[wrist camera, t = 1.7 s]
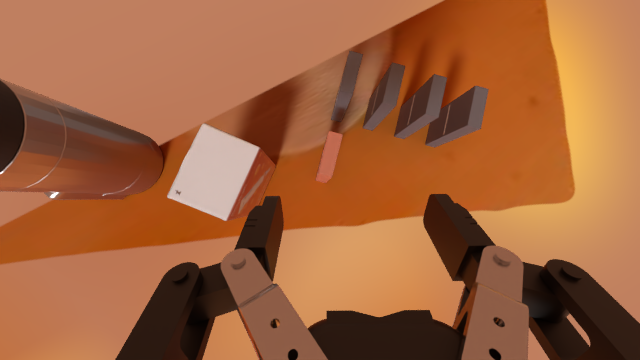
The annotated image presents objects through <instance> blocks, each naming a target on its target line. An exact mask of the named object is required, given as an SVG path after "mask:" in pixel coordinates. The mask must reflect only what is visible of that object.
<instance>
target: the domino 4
mask: <svg viewBox="0 0 640 360" xmlns="http://www.w3.org/2000/svg"><path fill="white" fill-rule="evenodd" d="M446 81H447V78H446V77H443V76H439V75H436V74H434V75H433V76H432V77H431V78H430V79H429V80H428V81H427V82H426V83H425V84H424V85H423V86H422V87H421V88H420V89H419V90H418V91H417V92H416V93H415V94H414V95H413V96H412V97H411V98H410V99H409V100H408V101H407V102H406V103H404V104H403V105H402V106H401V109H400V113H399V118H398V122H397V126H396V130H395V135H394V137H398V138H402V139H405V138H406V137H408V136H409V135H411V134H413V133H414V132H416V131H417V130H419V129H421V128H422V127H424V126H426V125H427V124H429V123H430V122H432V121H434V120H435V119H437V118H438V117H439V113H440V109H441V104H442V99H443V95H444V90H445V85H446Z"/></svg>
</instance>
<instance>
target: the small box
mask: <svg viewBox="0 0 640 360" xmlns="http://www.w3.org/2000/svg"><path fill="white" fill-rule="evenodd" d="M275 168H276V165H275V164H274V163H273V162H272V160H271V159H270V158H269V157H268V156H267V155H266V154H265V153H264V152H263V150H262V149H261V148H260V147H258V146H256V145H254V144H251V143H249V142H247V141H244V140H242V139H240V138H238V137H235V136H233V135H231V134H229V133H226V132H224V131H222V130H220V129H217V128H215V127H213V126H211V125H208V124H206V123H203V124H202V126H201V128H200V130H199V132H198V134H197V135H196V137H195V139H194V141H193V143H192V145H191V147H190V149H189V151H188V153H187V155H186V156H185V158H184V160H183V162H182V165H181V167H180V170H179V172H178V174H177V177H176V179H175V181H174V183H173V185H172V187H171V189H170V191H169V194H168V196H167V197H168V198H170V199H173V200H176V201H178V202H181V203H183V204H186V205H188V206H191V207H193V208H196V209H199V210H201V211H204V212H206V213H208V214H211V215H213V216H216V217H218V218H221V219H223V220H225V221H228V220H232V219H236V218H240V217H244V216H248V215H249V212H250V211H251V210H252V209H253V208H254V207H255V206H259V204H260V201H261V199H262V197H263V194H264V192H265V190H266V187H267V185H268V183H269V181H270V179H271V176H272V174H273V172H274V170H275Z"/></svg>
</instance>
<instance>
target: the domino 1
mask: <svg viewBox="0 0 640 360" xmlns="http://www.w3.org/2000/svg"><path fill="white" fill-rule="evenodd" d="M342 136H343V134H339V133H335V132H331V131H329V133H328V136H327V140H326V143H325V146H324V149H323V153H322V157H321V161H320V165H319V168H318V172H317V176H316V181H320V182H324V183H326V182H327V181H328V180H329V179H330V178H331V177H332V175H333V171H334V167H335V163H336V159H337V155H338V152H339V148H340V144H341V140H342Z"/></svg>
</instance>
